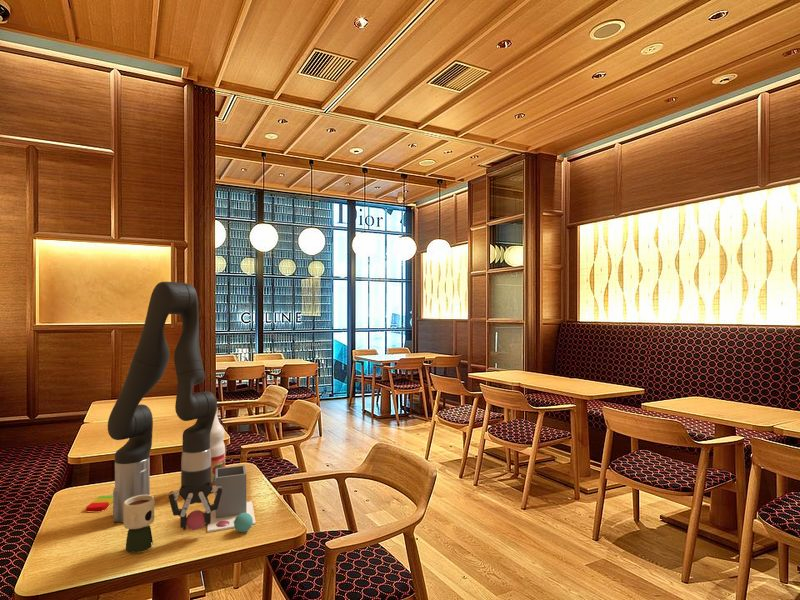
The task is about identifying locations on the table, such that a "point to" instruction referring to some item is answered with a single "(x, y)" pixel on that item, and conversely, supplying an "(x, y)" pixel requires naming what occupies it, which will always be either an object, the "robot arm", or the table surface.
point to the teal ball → (243, 522)
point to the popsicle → (100, 503)
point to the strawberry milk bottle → (216, 448)
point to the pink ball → (195, 520)
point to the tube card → (230, 498)
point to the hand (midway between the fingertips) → (195, 526)
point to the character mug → (139, 522)
